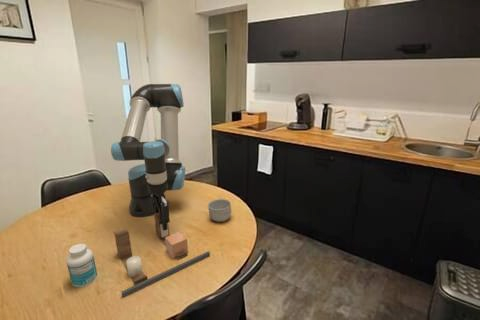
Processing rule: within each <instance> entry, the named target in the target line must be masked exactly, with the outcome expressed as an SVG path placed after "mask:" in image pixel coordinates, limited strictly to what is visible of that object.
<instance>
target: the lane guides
mask: <svg viewBox="0 0 480 320" xmlns="http://www.w3.org/2000/svg"><path fill="white" fill-rule="evenodd" d="M210 256H211V253H210V251H209V250H208V251H205V252H204V253H201V254H200V255H197V256H194V257H193V258H191V259H188V260H186V261H185V262H182V263H180V264H178V265H176V266H173V267H172V268H169V269H167V270H165V271H163V272H161V273H159V274H157V275H154V276H152V277H150V278H147V280H145V281H143V282H141V283H139V284H137V285H132V286H130V287H128V288H126V289H124V290H122V291H120V292H121V296H122V298H126V297H127V296H129V295H132V294H134V293H136V292H138V291H140V290H142V289H144V288H146V287H149V286H150V285H152V284H155V283H157V282H159V281H160V280H163V279H165V278H167V277H170V276H172V275H173V274H176V273H177V272H179V271H182V270H184V269H185V268H188V267H190V266H192V265H195V264H197V263H199V262H201V261H202V260H205V259H207V258H209V257H210Z"/></svg>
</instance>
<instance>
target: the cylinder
mask: <svg viewBox="0 0 480 320" xmlns="http://www.w3.org/2000/svg"><path fill="white" fill-rule="evenodd" d="M126 263H127V269H128V272H127V273H128V274H127V276H128V277H129V278H131V277H137V276H139V275H140V274H141V273H142V272H143V267H142V265H143V264H142V258H141V257H140V256H139V255H132V257H130V258H129V259H127V261H126Z"/></svg>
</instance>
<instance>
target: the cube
mask: <svg viewBox="0 0 480 320" xmlns="http://www.w3.org/2000/svg"><path fill="white" fill-rule="evenodd" d="M165 242H166V246H165V249H166V250H165V251H166V252H167V254H168V255H169V256H170V257H171V259H172V260H174V259H176V255H178V254H180V253H182V252H185V251H187V254H188V253H189V248H188V247H189V246H188V245H189V244H188V238H187V237H186V236H185V235H184V234H183V233H182V232H181V231H178V232H175V233H173V234H169V236H167V237H165Z"/></svg>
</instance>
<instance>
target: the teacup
mask: <svg viewBox="0 0 480 320" xmlns="http://www.w3.org/2000/svg"><path fill="white" fill-rule="evenodd" d="M207 207H208V215H209V217H210V219H211V220H212V221H215V222H217V223H222V222H225V221H227V220H228V219H229V218H230V216H231V215H232V202H231V201H230V200H229V199H225V198H223V197H219V198H217V199H213V200H211V201H210V202H209V203H208V204H207Z"/></svg>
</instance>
